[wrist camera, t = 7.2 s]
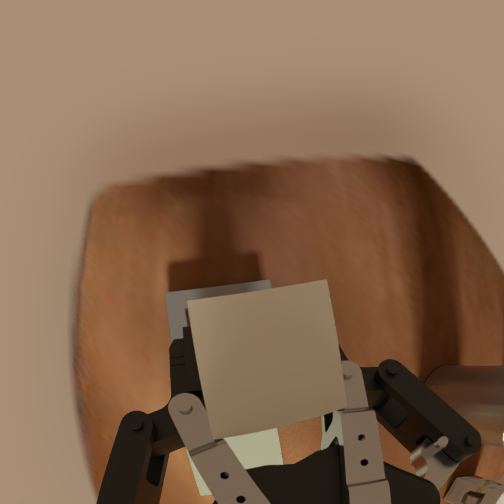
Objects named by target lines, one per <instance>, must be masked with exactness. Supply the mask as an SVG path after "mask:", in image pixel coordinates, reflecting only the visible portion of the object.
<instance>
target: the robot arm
mask: <svg viewBox="0 0 504 504" xmlns="http://www.w3.org/2000/svg"><path fill="white" fill-rule="evenodd" d="M338 345H339V344H338ZM339 351H340V358H341V365H342V372H343V379H344V386H345V394H346V402H347V407H346V408H343V409H340V410H337V411H334V412H331V413H328V414H325V415H322V431H323V436H322V442H321V450H320V451H317V452H315V453H313V454H311V455H309V456H308V457H306V458H304V459H303V460H301V461H299V462H297V463H295V464H287V465H265V466H260V467H255V468H250V469H245V468H244V467H243V466H242V464H241V463H240V461H239V460H238V458H237V457H236V455H235V454H234V452H233V451H232V449H231V448H230V446H229V445H228V443H227V442H226V441H225V439H223V438H221V439H214V440H213V437H212V432H211V428H210V424H209V420H208V415H207V411H206V406H205V401H204V397H203V392H202V387H201V382H200V377H199V371H198V366H197V360H196V355H195V349H194V343H193V337H192V331H191V326H188V327H183V338H181V339H173V341H172V344H171V346H170V348H169V354H170V377H171V399H170V401H169V403H168V404H167V405H166V406H165V407H164V408H162V409H160V410H158V411H155V412H152V413H150V414H146V413H144V412H141V411H132V412H130V413H128V414H126V415H125V416H124V417H123V419H122V421H121V423H120V426H119V429H118V432H117V435H116V438H115V442H114V445H113V448H112V451H111V454H110V457H109V461H108V464H107V467H106V471H105V474H104V478H103V481H102V485H101V488H100V492H99V496H98V500H97V504H159V501H160V496H161V491H162V486H163V482H164V477H165V472H166V467H167V463H168V458H169V453H170V452H172V451H175V450H177V449H180V448H182V447H185V446H186V448H187V450H188V452H189V455H190V457H191V459H192V461H193V463H194V465H195V466H196V468H197V470H198V472H199V473H200V475H201V477H202V478H203V480H204V482H205V483H206V485H207V487H208V488H209V490H210V492H211V493H212V495H213V496H214V498H215V501H214V503H213V504H440V494H439V491H438V490H439V489H440V488H441V486H442V485H443V484H444V483H445V482H446V480H447V479H448V478H449V477H450V475H451V474H452V473H453V472H454V470H455V469H456V468H457V466H458V465H459V464H460V463H461V462H462V461H464V460H465V459H467V458H468V457H470V456H471V455H473V454H474V453H476V452H477V451H478V450H479V448H480V446H481V443H482V444H486V445H491V446H496V447H502V448H504V366H458V365H444V366H440V367H439V368H437V369H436V370H434V371H433V372H432V373H431V375H430V376H429V377H428V378H427V380H426V382H425V383H423V382H422V381H421V380H419V379H418V378H417V377H416V376H415V375H414V374H412V373H411V372H410V371H409V370H408V369H407V368H406V367H404V366H403V365H402V364H401V363H400V362H398V361H396V360H392V359H388V360H384V361H383V362H381V363H380V365H379V367H359V366H358V365H357V364H356V363H354V362H351V361H349V360H348V359H347V358H346V356H345V354H344V352H343V351H342V349H341V347H340V346H339ZM377 421H379V422H380V423H381V424H382V425H383V426H384V427H385V428H386V429H387V430H388V431H389V432H390V433H391V434H392V435H393V436H394V437H395V438H396V439H397V440H398V441H399V442H400V443H401V444H402V445H403V446H404V447H405V448H406V449H407V450H408V451H409V452H410V453H411V455H410V460H411V461H410V464H411V466H412V467H414V468H415V470H416V475H414V474H412V473H409V472H407V471H404V470H402V469H399V468H397V467H395V466H392V465H390V464H388V463H386V462H383V457H382V450H381V443H380V437H379V431H378V425H377Z"/></svg>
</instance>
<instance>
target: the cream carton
mask: <svg viewBox="0 0 504 504" xmlns="http://www.w3.org/2000/svg"><path fill="white" fill-rule="evenodd" d="M187 304H188V311H189V318H190V324H191V331H192V337H193V343H194V349H195V355H196V360H197V366H198V371H199V377H200V382H201V387H202V392H203V397H204V401H205V406H206V411H207V415H208V420H209V424H210V428H211V432H212V437H213V440H214V439H221V438H228V437H234V436H240V435H245V434H251V433H256V432H261V431H265V430H270V429H274V428H278V427H283V426H287V425H291V424H294V423H298V422H302V421H305V420H309V419H312V418H315V417H319V416H322V415H325V414H328V413H331V412H334V411H337V410H340V409H343V408H346V407H347V402H346V394H345V386H344V379H343V372H342V365H341V358H340V351H339V345H338V339H337V333H336V327H335V321H334V316H333V310H332V305H331V300H330V294H329V289H328V284H327V280H320V281H314V282H309V283H303V284H297V285H291V286H285V287H279V288H272V289H266V290H259V291H253V292H246V293H239V294H232V295H225V296H218V297H211V298H203V299H196V300H188V301H187Z"/></svg>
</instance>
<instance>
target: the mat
mask: <svg viewBox="0 0 504 504" xmlns="http://www.w3.org/2000/svg"><path fill="white" fill-rule="evenodd" d="M223 439H225V441H226V442H227V443H228V445H229V446H230V448H231V449H232V451H233V452H234V454H235V455H236V457H237V458H238V460H239V461H240V463H241V464H242V466H243V467H244V468H245V469H250V468H255V467H260V466H265V465H283V460H282V454H281V449H280V443H279V437H278V431H277V428H274V429H270V430H265V431H261V432H256V433H251V434H245V435H240V436H234V437H228V438H223ZM186 449H187V448H186ZM187 453H188V456H189V460H190V463H191V467H192V470H193V473H194V477H195V480H196V483H197V486H198V489H199V492H200V495H201V496H203V495H212V493H211V492H210V490H209V488H208V487H207V485H206V483H205V482H204V480H203V478H202V477H201V475H200V473H199V472H198V470H197V468H196V466H195V465H194V463H193V461H192V459H191V457H190V455H189V452H188V450H187Z"/></svg>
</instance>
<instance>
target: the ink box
mask: <svg viewBox="0 0 504 504" xmlns="http://www.w3.org/2000/svg"><path fill="white" fill-rule="evenodd" d="M443 499H444V500H446V501H448V502H450V503H452V504H504V485H502V484H499V483H496V482H493V481H490V480H487V479H484V478H482V477H479V476H476V475H474V476H467V477H457V478H456V479H455V481H454V483H453V484H452V486H451V488H450V489H449V491H448V492H447V494H446V495H445V497H444V498H443Z"/></svg>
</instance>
